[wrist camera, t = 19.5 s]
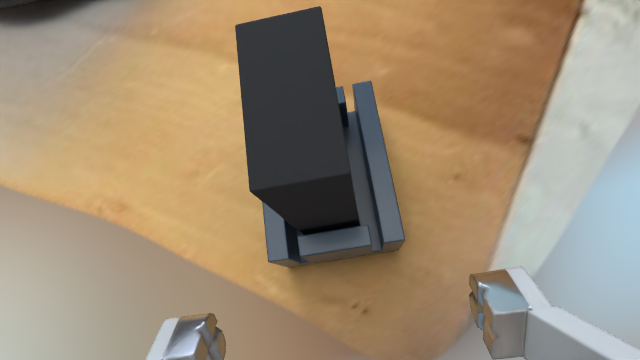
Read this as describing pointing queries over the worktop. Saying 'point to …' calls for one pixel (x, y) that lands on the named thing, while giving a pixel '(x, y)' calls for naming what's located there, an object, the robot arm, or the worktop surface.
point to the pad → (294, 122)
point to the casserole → (13, 2)
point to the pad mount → (370, 192)
